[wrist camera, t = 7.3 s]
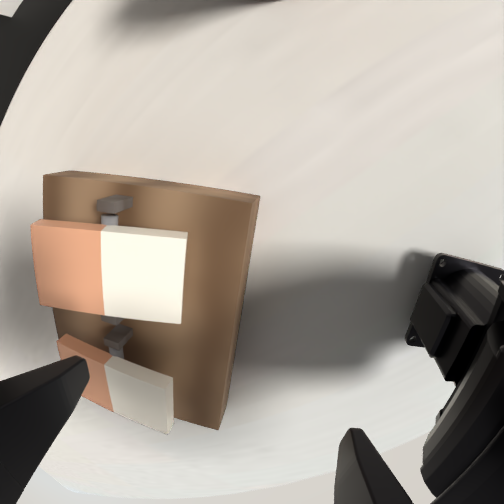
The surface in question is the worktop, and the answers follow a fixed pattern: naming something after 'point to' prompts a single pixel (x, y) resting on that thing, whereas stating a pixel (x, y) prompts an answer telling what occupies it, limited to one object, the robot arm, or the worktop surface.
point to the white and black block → (22, 39)
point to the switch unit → (195, 280)
